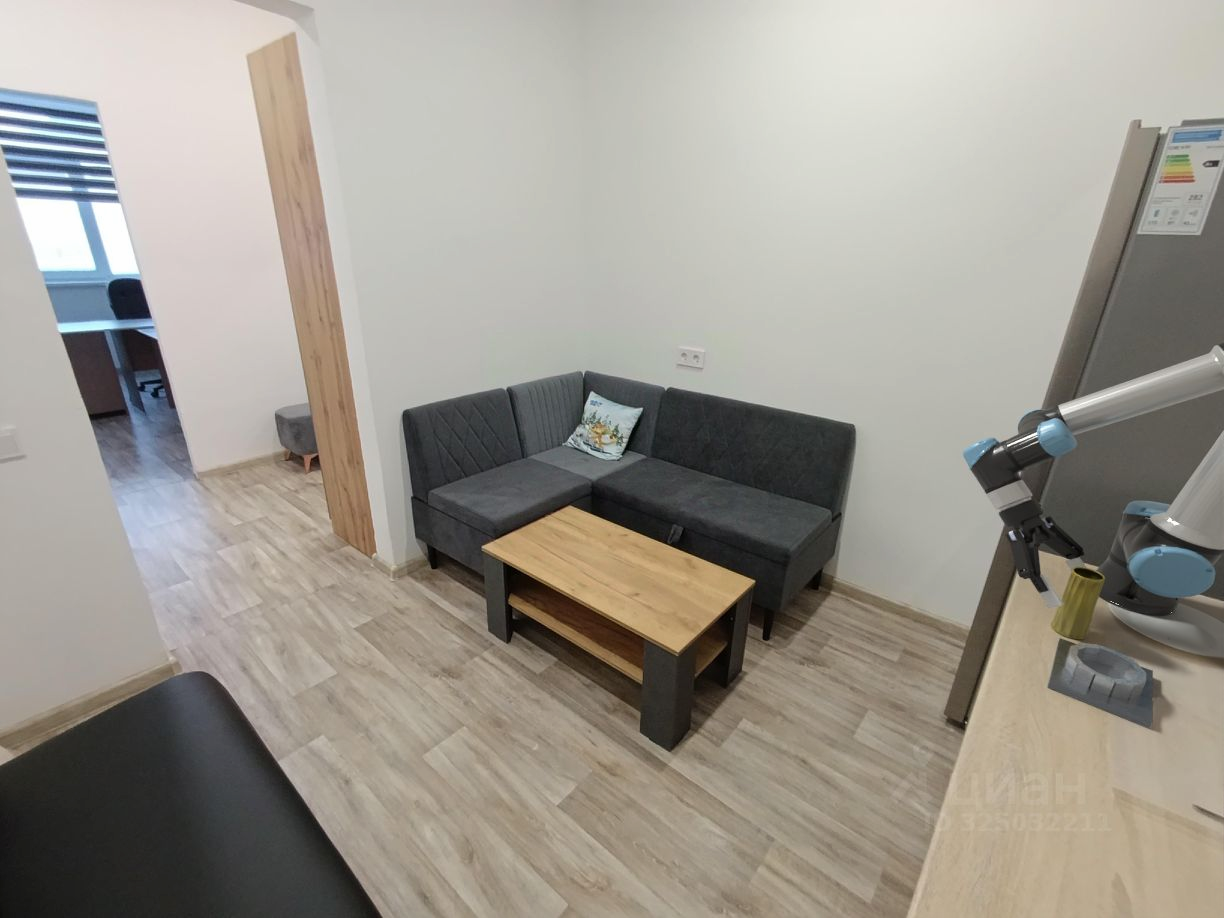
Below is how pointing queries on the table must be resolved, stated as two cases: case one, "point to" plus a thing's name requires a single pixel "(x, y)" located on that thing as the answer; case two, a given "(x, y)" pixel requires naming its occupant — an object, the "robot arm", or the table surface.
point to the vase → (1078, 603)
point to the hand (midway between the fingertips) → (1074, 597)
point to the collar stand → (1103, 680)
